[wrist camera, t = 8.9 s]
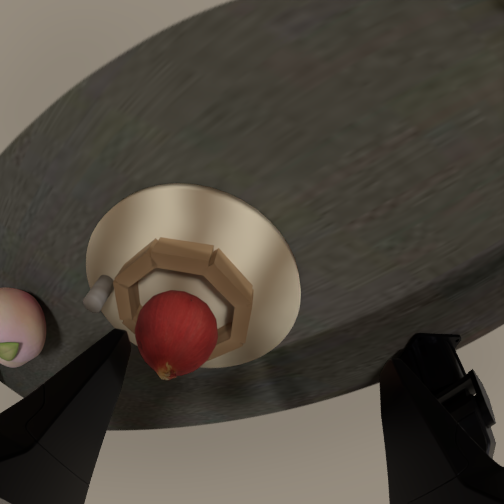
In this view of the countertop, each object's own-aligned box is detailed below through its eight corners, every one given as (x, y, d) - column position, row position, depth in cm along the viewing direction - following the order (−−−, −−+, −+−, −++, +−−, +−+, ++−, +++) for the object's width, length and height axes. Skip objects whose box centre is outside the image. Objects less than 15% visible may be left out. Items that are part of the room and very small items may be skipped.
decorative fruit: (23, 252, 24) (-36, 315, 16) (73, 310, 28) (28, 382, 19) (-1, 286, 27) (-45, 340, 19) (42, 333, 31) (6, 391, 22)
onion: (193, 335, 26) (175, 412, 19) (139, 297, 24) (104, 372, 17) (237, 299, 24) (228, 383, 17) (178, 254, 22) (144, 332, 15)
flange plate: (325, 204, 20) (336, 232, 17) (276, 369, 30) (275, 403, 26) (82, 173, 20) (49, 193, 16) (108, 338, 29) (93, 367, 26)
